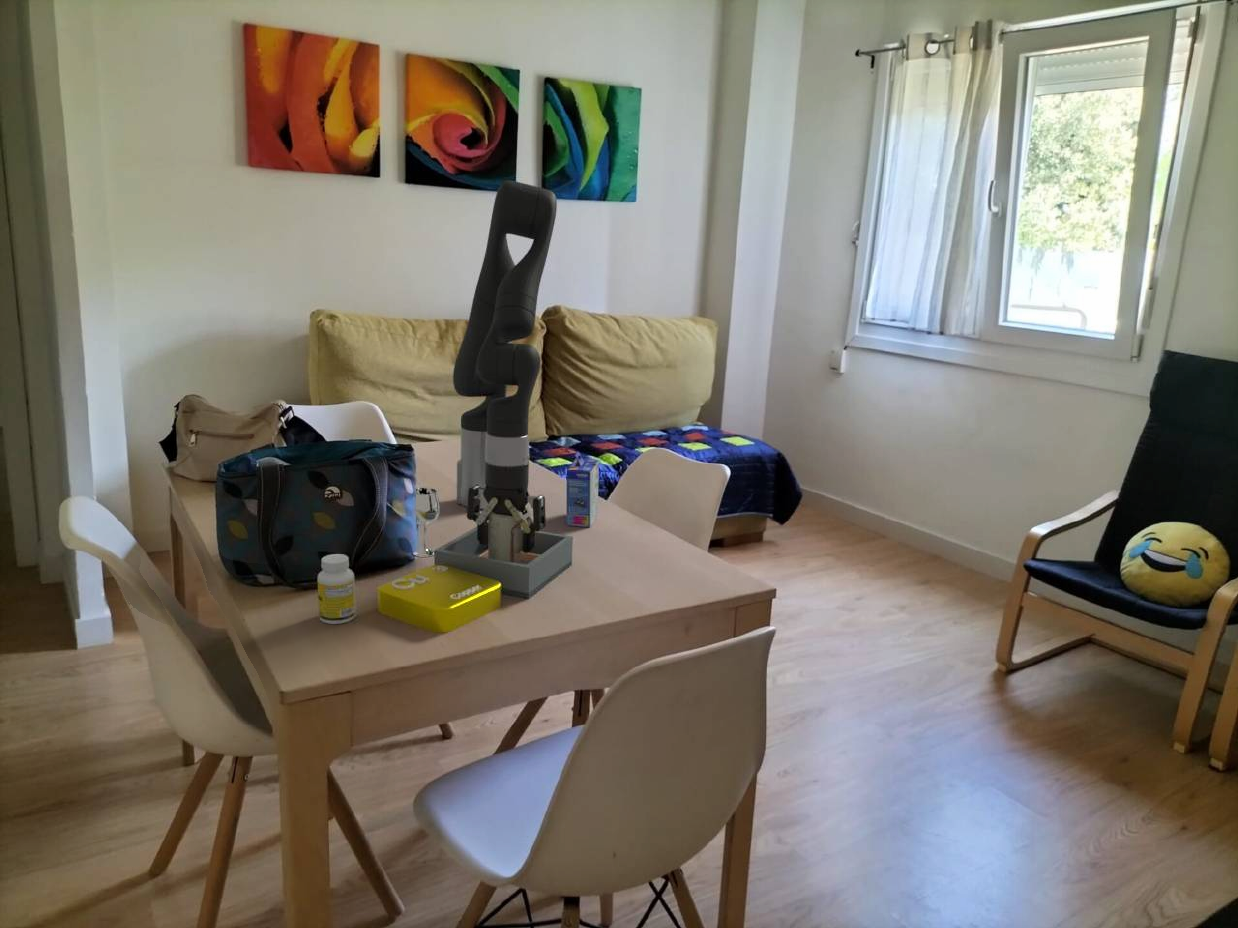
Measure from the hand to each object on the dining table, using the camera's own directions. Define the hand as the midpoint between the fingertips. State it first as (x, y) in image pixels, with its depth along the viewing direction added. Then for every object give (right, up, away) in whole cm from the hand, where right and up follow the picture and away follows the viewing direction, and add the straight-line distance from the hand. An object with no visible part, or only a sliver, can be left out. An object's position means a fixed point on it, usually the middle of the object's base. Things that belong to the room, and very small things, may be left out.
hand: (505, 547), depth 164 cm
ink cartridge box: (+12, +3, +33) cm, 35 cm away
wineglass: (-16, -2, +9) cm, 19 cm away
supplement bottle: (-24, -9, -21) cm, 33 cm away
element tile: (-9, -9, -15) cm, 19 cm away
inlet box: (0, -5, +1) cm, 5 cm away
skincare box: (0, -4, +1) cm, 4 cm away
